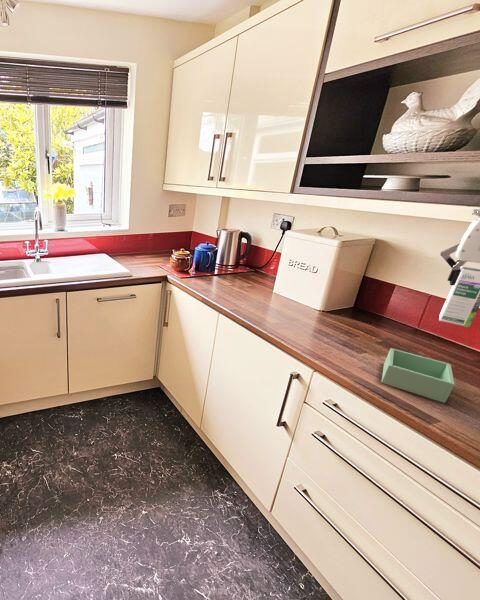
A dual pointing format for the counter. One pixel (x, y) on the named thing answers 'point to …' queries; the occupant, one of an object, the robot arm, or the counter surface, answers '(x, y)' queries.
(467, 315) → the syrup box
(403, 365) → the bin
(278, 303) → the counter surface
